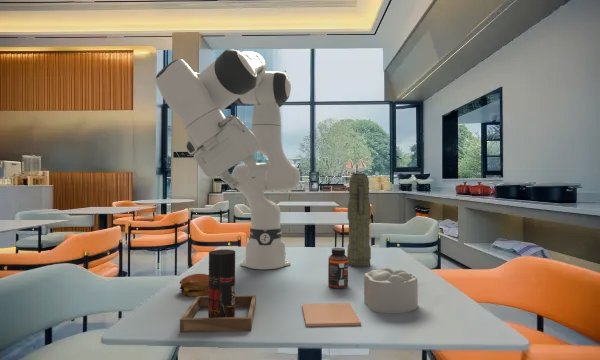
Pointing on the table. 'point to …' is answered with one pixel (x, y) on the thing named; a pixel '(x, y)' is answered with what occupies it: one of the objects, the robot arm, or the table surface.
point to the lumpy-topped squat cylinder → (390, 291)
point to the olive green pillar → (359, 221)
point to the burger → (195, 285)
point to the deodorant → (221, 284)
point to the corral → (218, 323)
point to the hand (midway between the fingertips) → (246, 182)
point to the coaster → (330, 314)
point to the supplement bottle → (338, 269)
